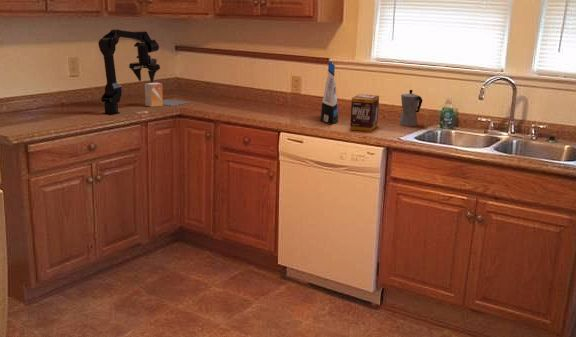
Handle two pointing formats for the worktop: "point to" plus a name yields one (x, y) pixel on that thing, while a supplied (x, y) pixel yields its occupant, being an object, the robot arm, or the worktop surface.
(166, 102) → the mat
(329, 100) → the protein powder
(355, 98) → the supplement box
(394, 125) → the worktop surface
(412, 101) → the coffeepot
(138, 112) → the coaster
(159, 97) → the small box
